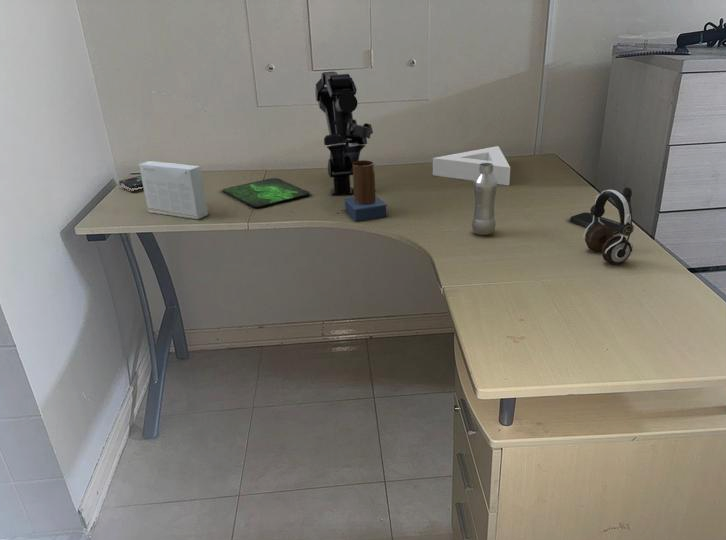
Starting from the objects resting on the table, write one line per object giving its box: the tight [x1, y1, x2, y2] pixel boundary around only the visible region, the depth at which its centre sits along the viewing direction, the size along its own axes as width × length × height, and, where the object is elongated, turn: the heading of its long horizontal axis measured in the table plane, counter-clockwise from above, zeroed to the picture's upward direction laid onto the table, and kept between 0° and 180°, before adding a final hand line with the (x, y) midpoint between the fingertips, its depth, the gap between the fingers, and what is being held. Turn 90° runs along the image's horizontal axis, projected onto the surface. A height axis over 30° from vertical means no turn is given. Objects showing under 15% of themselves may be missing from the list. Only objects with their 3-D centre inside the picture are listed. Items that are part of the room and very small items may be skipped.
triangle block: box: [432, 145, 511, 186], centre depth 235 cm, size 30×26×6 cm
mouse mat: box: [221, 177, 311, 208], centre depth 224 cm, size 27×22×1 cm
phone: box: [569, 211, 620, 235], centre depth 188 cm, size 8×1×15 cm
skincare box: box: [138, 160, 209, 220], centre depth 204 cm, size 21×6×16 cm, turn 65°
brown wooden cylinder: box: [352, 159, 376, 205], centre depth 198 cm, size 7×7×12 cm
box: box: [343, 194, 388, 222], centre depth 202 cm, size 11×10×4 cm
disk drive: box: [118, 175, 144, 193], centre depth 235 cm, size 10×3×15 cm
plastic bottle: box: [471, 163, 498, 236], centre depth 180 cm, size 6×7×20 cm
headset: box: [583, 186, 635, 265], centre depth 163 cm, size 17×8×20 cm, turn 13°
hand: (349, 168), depth 203 cm, fingers open, 9 cm apart
